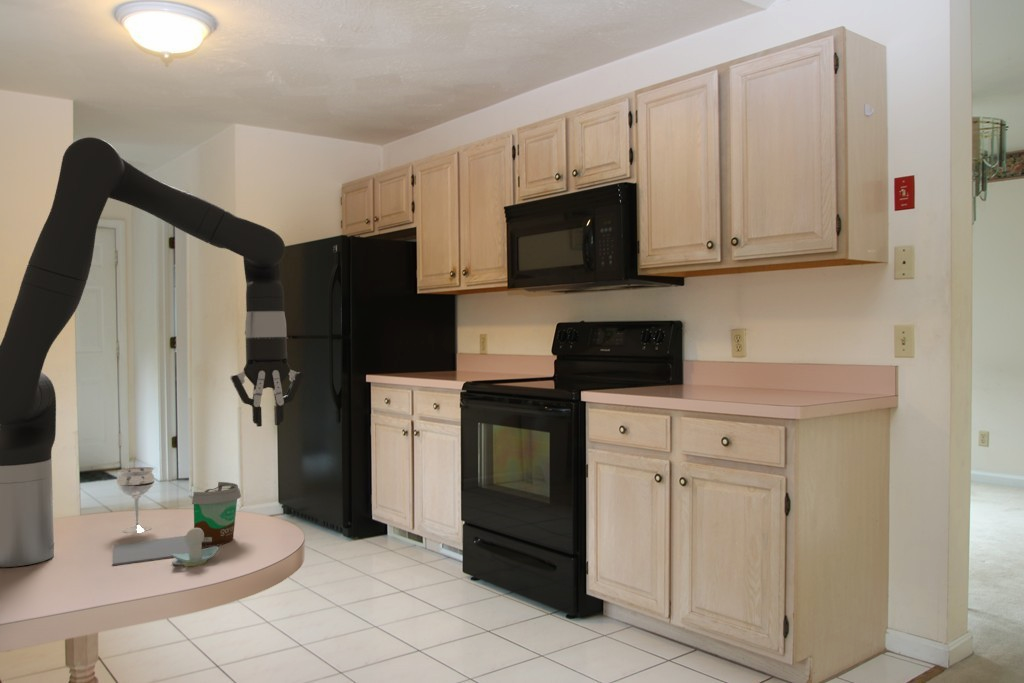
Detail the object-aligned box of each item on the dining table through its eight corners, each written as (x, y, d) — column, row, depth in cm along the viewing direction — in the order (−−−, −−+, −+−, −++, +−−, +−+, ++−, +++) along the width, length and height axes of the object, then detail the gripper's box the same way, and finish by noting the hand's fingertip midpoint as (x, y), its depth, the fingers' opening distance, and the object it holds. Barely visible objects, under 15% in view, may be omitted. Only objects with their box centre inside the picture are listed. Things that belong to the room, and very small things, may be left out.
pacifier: (165, 564, 131) (176, 571, 127) (164, 527, 131) (175, 532, 127) (209, 556, 136) (221, 562, 131) (208, 520, 136) (220, 525, 132)
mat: (112, 565, 131) (112, 563, 131) (113, 546, 143) (113, 544, 143) (201, 553, 137) (201, 551, 137) (195, 535, 149) (195, 534, 149)
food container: (224, 549, 139) (226, 493, 139) (190, 548, 139) (192, 492, 139) (249, 533, 151) (250, 482, 151) (218, 532, 151) (219, 481, 151)
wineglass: (115, 529, 156) (113, 469, 156) (151, 523, 160) (150, 465, 160) (121, 535, 151) (120, 474, 151) (159, 529, 155) (157, 470, 155)
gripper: (229, 336, 142) (232, 430, 142) (307, 334, 148) (309, 424, 148) (225, 336, 149) (227, 426, 149) (299, 335, 155) (301, 421, 155)
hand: (268, 425), depth 149 cm, fingers open, 3 cm apart
